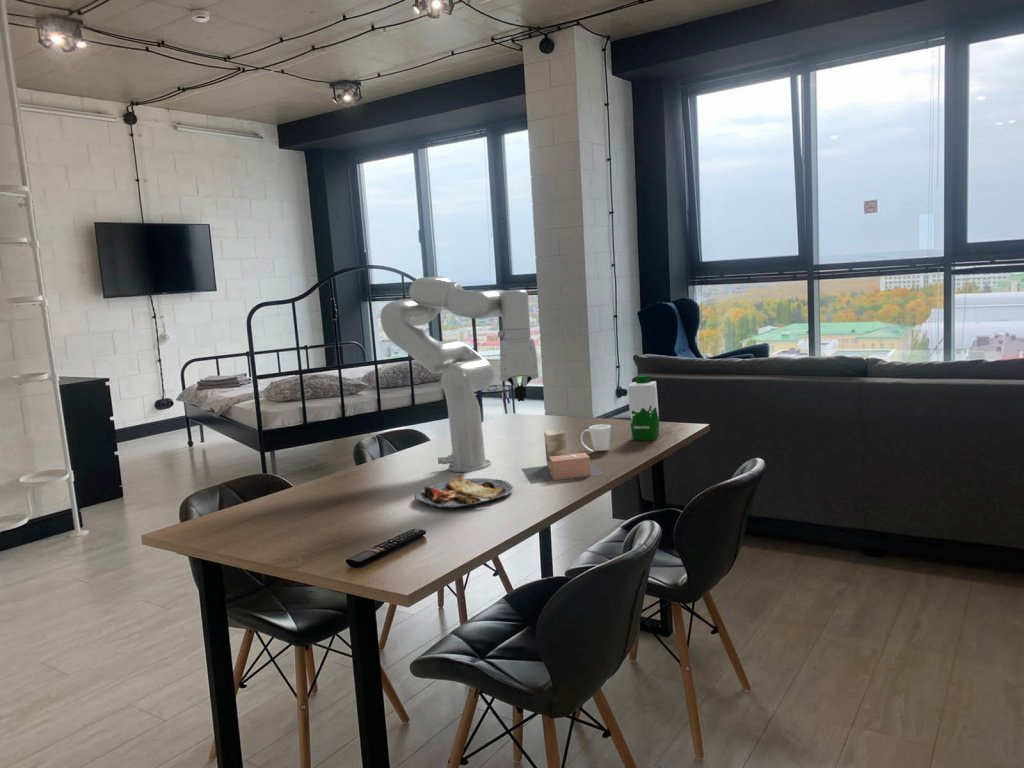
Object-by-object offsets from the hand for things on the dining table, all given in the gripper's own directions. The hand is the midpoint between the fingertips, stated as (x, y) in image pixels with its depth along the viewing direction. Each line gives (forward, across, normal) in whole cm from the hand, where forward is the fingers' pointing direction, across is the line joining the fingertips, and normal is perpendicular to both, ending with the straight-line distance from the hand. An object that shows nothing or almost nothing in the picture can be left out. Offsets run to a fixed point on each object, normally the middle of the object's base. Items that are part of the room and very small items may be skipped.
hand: (520, 400), depth 214 cm
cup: (+21, +24, +15) cm, 35 cm away
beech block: (+20, +9, 0) cm, 22 cm away
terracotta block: (+17, +6, -11) cm, 21 cm away
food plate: (+21, -18, -19) cm, 34 cm away
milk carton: (+20, +43, +27) cm, 55 cm away
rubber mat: (+20, +10, -6) cm, 23 cm away
